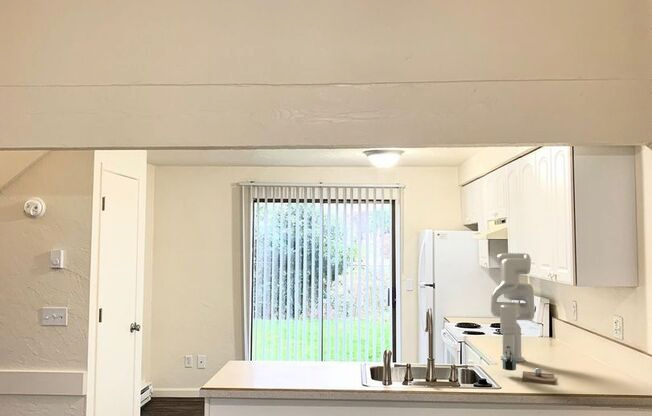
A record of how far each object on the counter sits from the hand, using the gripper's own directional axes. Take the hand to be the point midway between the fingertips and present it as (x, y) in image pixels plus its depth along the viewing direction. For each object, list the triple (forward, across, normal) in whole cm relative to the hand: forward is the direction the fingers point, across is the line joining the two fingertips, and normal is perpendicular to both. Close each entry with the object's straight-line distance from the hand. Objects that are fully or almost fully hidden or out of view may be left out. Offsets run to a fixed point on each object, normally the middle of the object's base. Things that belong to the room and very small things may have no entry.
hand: (509, 367), depth 248 cm
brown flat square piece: (+4, +1, +13) cm, 14 cm away
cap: (+1, 0, 0) cm, 1 cm away
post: (+3, +1, +13) cm, 13 cm away
